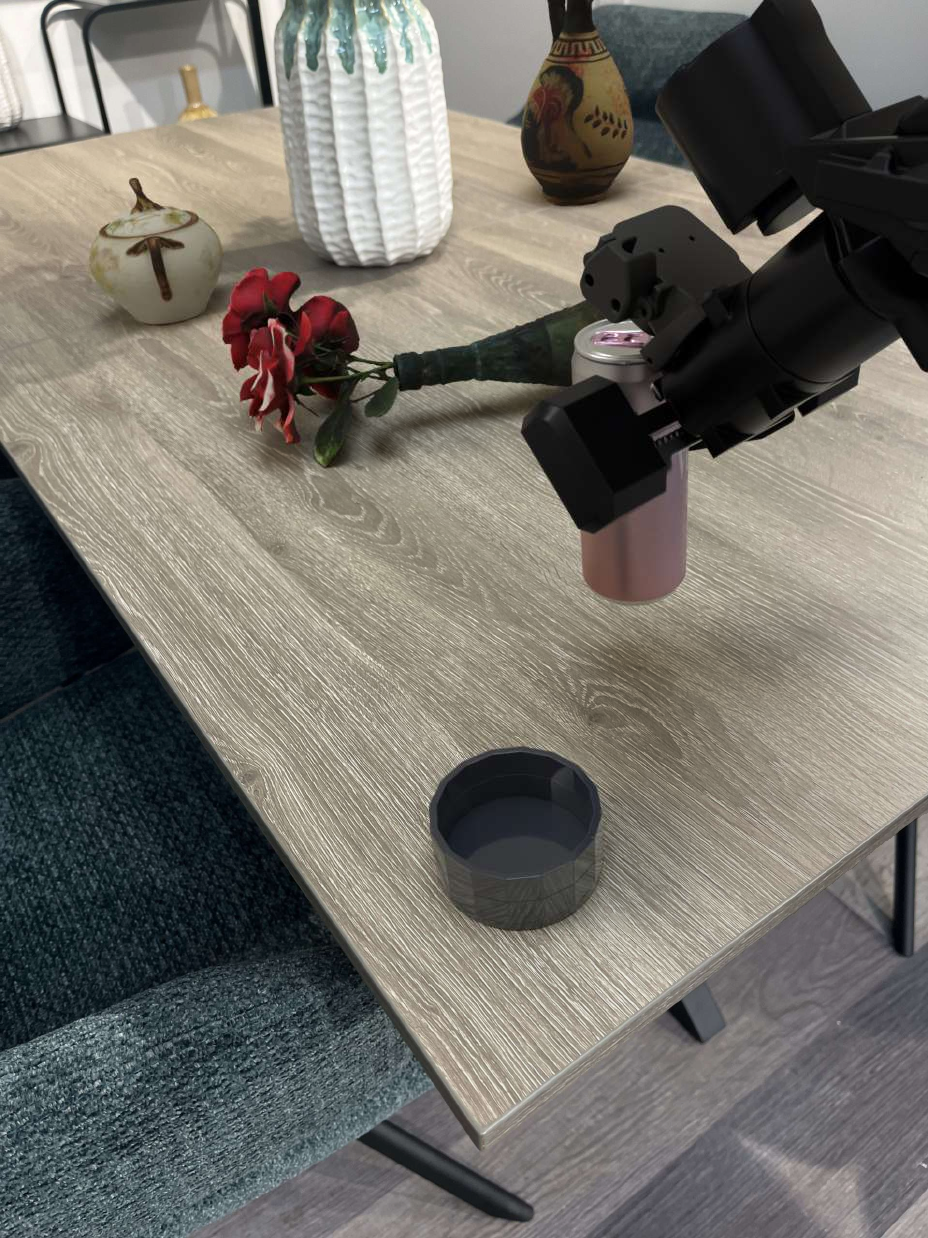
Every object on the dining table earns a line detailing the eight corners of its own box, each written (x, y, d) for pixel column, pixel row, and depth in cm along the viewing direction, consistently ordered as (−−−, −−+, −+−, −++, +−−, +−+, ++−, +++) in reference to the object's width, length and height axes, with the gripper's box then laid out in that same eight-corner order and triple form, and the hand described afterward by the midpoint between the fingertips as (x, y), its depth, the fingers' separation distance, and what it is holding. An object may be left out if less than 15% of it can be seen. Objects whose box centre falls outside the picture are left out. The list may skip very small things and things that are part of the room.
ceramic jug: (656, 193, 140) (663, -67, 121) (564, 219, 134) (557, -49, 116) (584, 170, 152) (581, -69, 133) (497, 193, 146) (481, -53, 128)
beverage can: (596, 547, 62) (586, 312, 53) (693, 556, 60) (700, 313, 51) (572, 604, 58) (556, 358, 49) (676, 616, 56) (679, 362, 47)
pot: (633, 885, 50) (635, 832, 48) (483, 958, 47) (476, 907, 45) (549, 777, 56) (546, 725, 54) (412, 837, 54) (402, 786, 51)
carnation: (610, 454, 99) (253, 509, 93) (568, 286, 103) (221, 329, 96) (662, 382, 84) (239, 442, 78) (610, 188, 87) (202, 231, 81)
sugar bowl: (106, 296, 126) (66, 170, 117) (224, 274, 129) (195, 149, 120) (110, 354, 111) (65, 213, 102) (244, 327, 114) (212, 188, 105)
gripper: (839, 110, 46) (656, 294, 60) (537, 215, 38) (406, 401, 52) (966, 315, 46) (752, 453, 60) (689, 467, 38) (515, 586, 52)
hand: (614, 467), depth 56 cm, fingers closed on beverage can, 6 cm apart
